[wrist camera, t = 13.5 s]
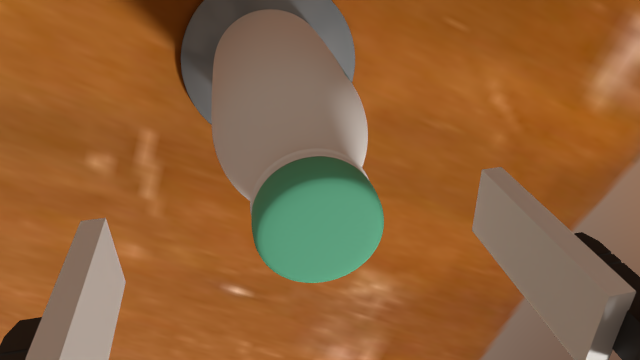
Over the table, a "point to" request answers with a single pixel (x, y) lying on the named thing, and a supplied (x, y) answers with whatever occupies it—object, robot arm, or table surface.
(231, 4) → the grey round disc
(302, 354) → the table surface
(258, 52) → the milk bottle
